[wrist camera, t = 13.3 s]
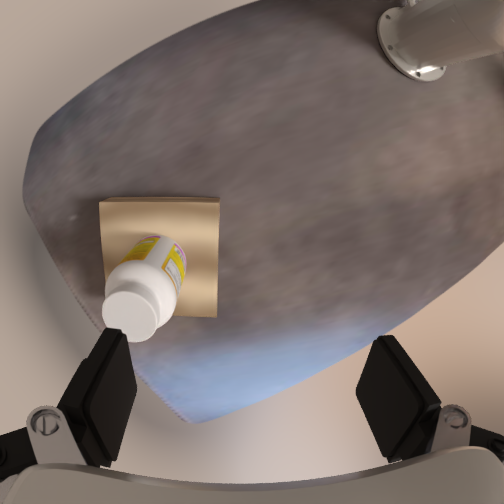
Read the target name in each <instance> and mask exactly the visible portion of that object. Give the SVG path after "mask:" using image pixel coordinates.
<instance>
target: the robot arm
mask: <svg viewBox="0 0 504 504" xmlns="http://www.w3.org/2000/svg"><path fill="white" fill-rule="evenodd" d="M415 2H416V1H415V0H407V3H408V4H407V5H406V6H404V7H403V8H402V7H395V8H391V9H388V10H387V11H385V12H384V13H383V14H382V15H381V16H380V18H379V20H378V24H377V35H378V39H379V42H380V45H381V47H382V49H383V51H384V53H385V54H386V56H387V57H388V59H389V60H390V61H391V63H392V64H393V65H394V66H395V67H396V68H397V69H398V70H399V71H401V72H402V73H403V74H405V75H406V76H408V77H409V78H412V79H414V80H416V81H421V82H430V81H434V80H436V79H438V78H440V77H441V76H442V75H443V73H444V72H445V69H446V66H448V65H452V64H455V63H459V62H463V61H467V60H471V59H475V58H479V57H483V56H488V55H492V54H497V53H502V52H504V0H418V3H417V4H415ZM136 393H137V384H136V380H135V375H134V371H133V366H132V361H131V356H130V351H129V346H128V340H127V335H126V334H124V333H122V331H121V329H115V328H108V327H107V328H105V329H104V331H103V333H102V334H101V336H100V338H99V339H98V341H97V343H96V344H95V346H94V348H93V349H92V351H91V353H90V354H89V356H88V358H85V359H84V360H83V361H82V362H81V364H80V365H79V367H78V369H77V371H76V372H75V374H74V376H73V378H72V380H71V381H70V383H69V385H68V387H67V389H66V390H65V392H64V394H63V396H62V398H61V400H60V402H59V403H58V406H57V407H53V406H40V407H38V408H36V409H34V410H33V411H32V412H31V413H30V414H29V416H28V418H27V421H26V422H27V427H24V428H22V429H18V430H16V431H13V432H10V433H7V434H3V435H0V504H504V436H502V435H500V434H497V433H494V432H491V431H488V430H485V429H482V428H479V427H476V426H473V425H471V417H470V414H469V413H468V412H467V411H466V410H465V409H464V408H463V407H460V406H458V405H453V404H452V405H447V406H444V407H443V408H441V406H440V404H441V401H440V399H439V398H438V396H437V395H436V393H435V392H434V390H433V389H432V388H431V386H430V385H429V383H428V382H427V381H426V379H425V378H424V376H423V375H422V373H421V372H420V371H419V369H418V368H417V367H416V365H415V364H414V363H413V361H412V360H411V358H410V357H409V356H408V355H407V353H406V352H405V350H404V349H403V348H402V346H401V345H400V344H399V342H398V341H397V340H396V338H395V337H394V336H393V335H384V336H379V337H378V338H377V340H374V341H373V344H372V347H371V350H370V352H369V355H368V358H367V361H366V364H365V367H364V369H363V372H362V374H361V377H360V380H359V382H358V384H357V387H356V396H357V399H358V401H359V403H360V405H361V408H362V410H363V412H364V414H365V417H366V419H367V421H368V423H369V426H370V428H371V430H372V432H373V435H374V437H375V440H376V442H377V444H378V447H379V449H380V451H381V454H382V456H383V457H386V458H387V460H388V463H392V462H396V461H399V460H401V459H402V461H400V462H397V463H393V464H389V465H385V466H381V467H377V468H373V469H368V470H364V471H359V472H355V473H349V474H344V475H338V476H332V477H326V478H318V479H310V480H302V481H291V482H278V483H257V484H222V483H201V482H188V481H178V480H169V479H161V478H153V477H147V476H140V475H135V474H129V473H124V472H119V471H114V470H108V469H103V468H100V465H101V466H105V467H109V468H110V466H111V462H112V461H116V460H117V457H118V453H119V449H120V446H121V442H122V439H123V435H124V432H125V428H126V425H127V422H128V419H129V415H130V412H131V409H132V406H133V402H134V399H135V396H136Z"/></svg>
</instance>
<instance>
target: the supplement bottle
mask: <svg viewBox="0 0 504 504" xmlns="http://www.w3.org/2000/svg"><path fill="white" fill-rule="evenodd" d="M185 272H186V257H185V254H184V252H183V250H182V248H181V247H180V246H179V245H178V244H177V243H176V242H175V241H174V240H172V239H171V238H169V237H166V236H163V235H150V236H147V237H145V238H143V239H141V240H140V241H139V242H138V243H137V244H136V245H135V246H134V247H133V248H132V249H131V250H130V251H129V253H128V254H127V255H126V256H125V257H124V258H123V259H122V261H121V262H120V263H119V264H118V265H117V266H116V267H115V269H114V270H113V271H112V272H111V274H110V275H109V277H108V279H107V282H106V286H105V298H106V299H105V301H104V303H103V306H102V316H103V320H104V322H105V324H106V326H107V327H108V328H115V329H121V331H122V333H124V334H126V335H127V340H128V341H129V342H141V341H145V340H147V339H148V338H150V337H151V336H152V335H153V334H154V332H155V330H156V328H159V327H161V326H162V325H164V324H165V323H166V322H167V321H168V320H169V319H170V318H171V316H172V314H173V312H174V309H175V306H176V303H177V299H178V296H179V293H180V289H181V286H182V283H183V279H184V276H185Z"/></svg>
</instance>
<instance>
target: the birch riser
mask: <svg viewBox="0 0 504 504" xmlns="http://www.w3.org/2000/svg"><path fill="white" fill-rule="evenodd" d="M219 209H220V198H202V197H111V198H108V199H106V200H103V201H101V202H99V213H100V230H101V243H102V254H103V263H104V272H105V280H106V282H107V279H108V277H109V275H110V274H111V272H112V271H113V270H114V269H115V267H116V266H117V265H118V264H119V263H120V262H121V261H122V259H123V258H124V257H125V256H126V255H127V254H128V253H129V251H130V250H131V249H132V248H133V247H134V246H135V245H136V244H137V243H138V242H139V241H140V240H141V239H143V238H145V237H147V236H150V235H163V236H166V237H169V238H171V239H172V240H174V241H175V242H176V243H177V244H178V245H179V246H180V247H181V248H182V250H183V252H184V254H185V257H186V272H185V276H184V279H183V283H182V286H181V289H180V293H179V296H178V299H177V303H176V306H175V309H174V312H173V314H172V315H173V316H196V317H217V287H218V240H219Z"/></svg>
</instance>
